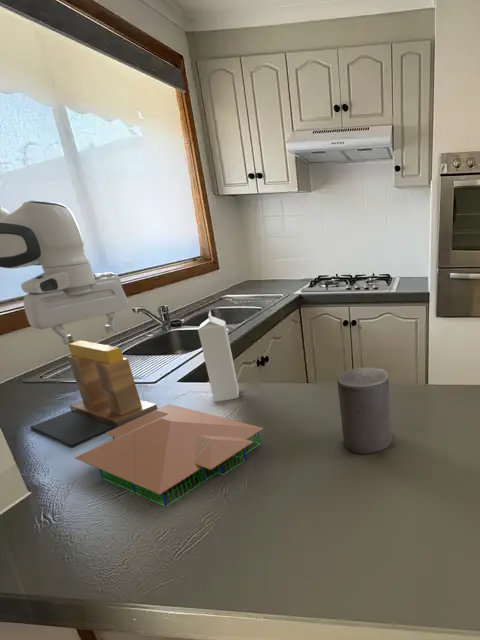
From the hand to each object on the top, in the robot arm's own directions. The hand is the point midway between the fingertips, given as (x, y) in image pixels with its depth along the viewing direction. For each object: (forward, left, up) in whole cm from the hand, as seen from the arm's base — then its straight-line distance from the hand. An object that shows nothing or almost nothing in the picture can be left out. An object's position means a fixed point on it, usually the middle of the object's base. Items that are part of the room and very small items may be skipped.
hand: (90, 337), depth 99 cm
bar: (0, 0, -5) cm, 5 cm away
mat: (-10, -1, -19) cm, 21 cm away
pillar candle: (+14, -67, -19) cm, 71 cm away
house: (-7, -35, -19) cm, 40 cm away
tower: (0, 0, -19) cm, 19 cm away
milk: (+18, -21, -19) cm, 34 cm away
